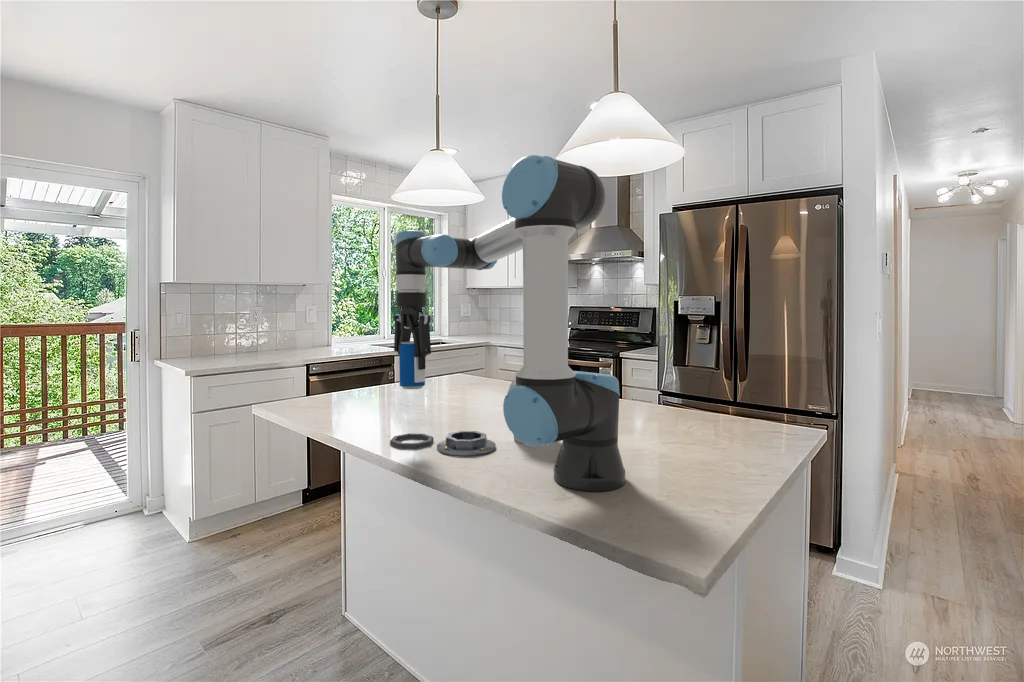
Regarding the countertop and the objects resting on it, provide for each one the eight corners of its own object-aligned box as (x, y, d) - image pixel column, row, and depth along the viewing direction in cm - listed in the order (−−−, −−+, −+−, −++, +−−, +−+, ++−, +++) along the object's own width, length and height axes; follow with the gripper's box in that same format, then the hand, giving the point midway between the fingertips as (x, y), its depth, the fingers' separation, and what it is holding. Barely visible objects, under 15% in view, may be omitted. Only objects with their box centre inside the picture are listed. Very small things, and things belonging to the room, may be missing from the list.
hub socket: (507, 448, 137) (507, 436, 137) (461, 460, 127) (461, 447, 126) (471, 437, 148) (471, 425, 147) (425, 447, 138) (425, 434, 137)
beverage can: (419, 390, 136) (419, 343, 135) (395, 389, 137) (395, 342, 136) (428, 386, 142) (428, 341, 141) (405, 385, 144) (405, 341, 143)
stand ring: (440, 443, 141) (440, 439, 141) (405, 451, 134) (405, 446, 134) (418, 435, 149) (418, 431, 149) (384, 442, 141) (384, 438, 141)
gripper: (445, 291, 133) (446, 383, 135) (403, 292, 148) (404, 375, 149) (419, 291, 128) (420, 386, 130) (379, 292, 142) (380, 377, 144)
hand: (412, 380), depth 140 cm, fingers closed on beverage can, 6 cm apart
